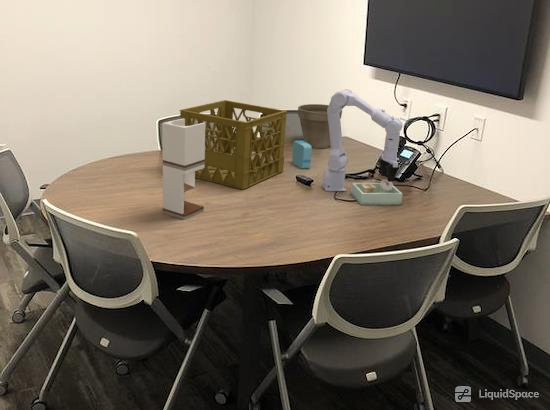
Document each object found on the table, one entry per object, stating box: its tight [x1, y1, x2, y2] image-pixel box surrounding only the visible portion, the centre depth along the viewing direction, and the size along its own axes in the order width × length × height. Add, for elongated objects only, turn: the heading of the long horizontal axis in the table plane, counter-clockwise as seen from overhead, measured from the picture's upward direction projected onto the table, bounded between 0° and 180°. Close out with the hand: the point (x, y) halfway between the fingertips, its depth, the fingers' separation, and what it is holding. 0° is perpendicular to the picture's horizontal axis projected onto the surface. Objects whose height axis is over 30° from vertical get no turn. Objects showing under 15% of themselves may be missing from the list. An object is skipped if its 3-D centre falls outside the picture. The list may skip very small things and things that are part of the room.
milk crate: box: [179, 99, 288, 190], centre depth 266 cm, size 36×35×30 cm
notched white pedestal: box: [161, 118, 206, 221], centre depth 215 cm, size 11×11×35 cm
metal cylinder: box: [379, 179, 394, 193], centre depth 248 cm, size 5×5×7 cm
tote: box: [350, 182, 403, 206], centre depth 248 cm, size 18×14×5 cm
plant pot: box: [297, 103, 343, 149], centre depth 327 cm, size 25×25×22 cm
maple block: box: [361, 184, 376, 193], centre depth 247 cm, size 5×5×5 cm
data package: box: [291, 140, 313, 170], centre depth 288 cm, size 12×4×12 cm, turn 24°
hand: (386, 178), depth 247 cm, fingers open, 7 cm apart
